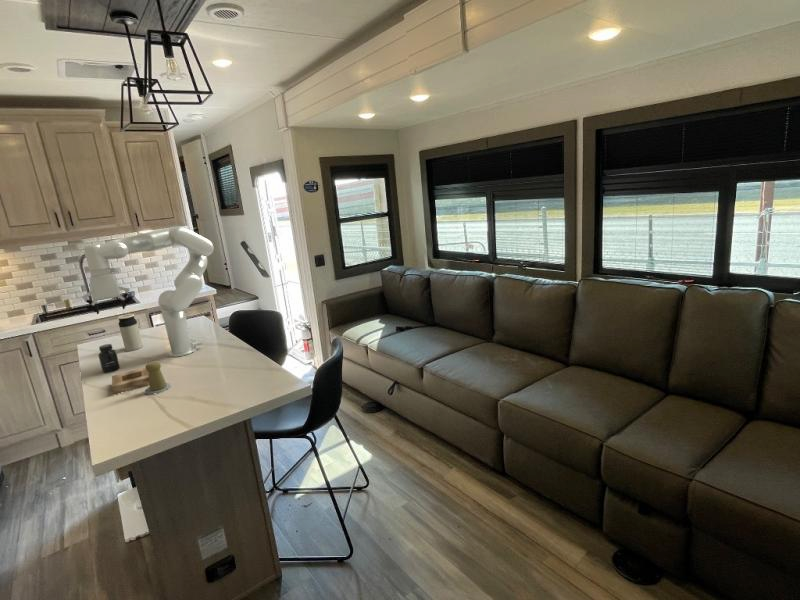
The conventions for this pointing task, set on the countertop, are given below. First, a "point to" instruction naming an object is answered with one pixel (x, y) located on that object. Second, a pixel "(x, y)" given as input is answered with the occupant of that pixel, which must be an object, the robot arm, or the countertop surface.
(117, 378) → the socket ring
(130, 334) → the travel mug
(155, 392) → the coaster
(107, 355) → the supplement bottle
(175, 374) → the countertop surface
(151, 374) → the cork
